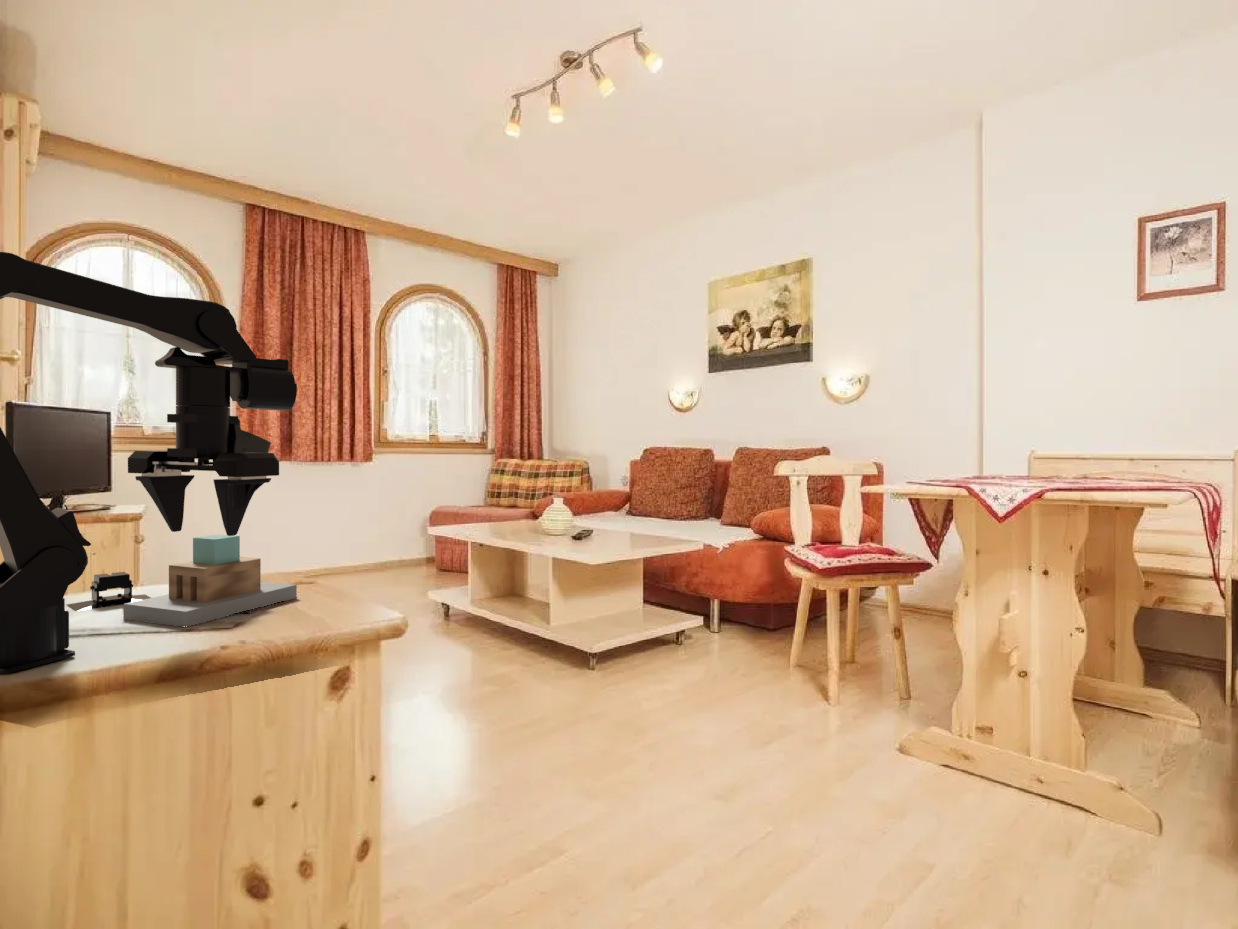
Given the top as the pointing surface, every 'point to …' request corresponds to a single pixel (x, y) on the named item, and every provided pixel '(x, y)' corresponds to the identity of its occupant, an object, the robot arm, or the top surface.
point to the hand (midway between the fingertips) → (203, 533)
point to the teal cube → (216, 549)
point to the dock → (205, 606)
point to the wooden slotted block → (214, 579)
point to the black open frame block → (102, 584)
